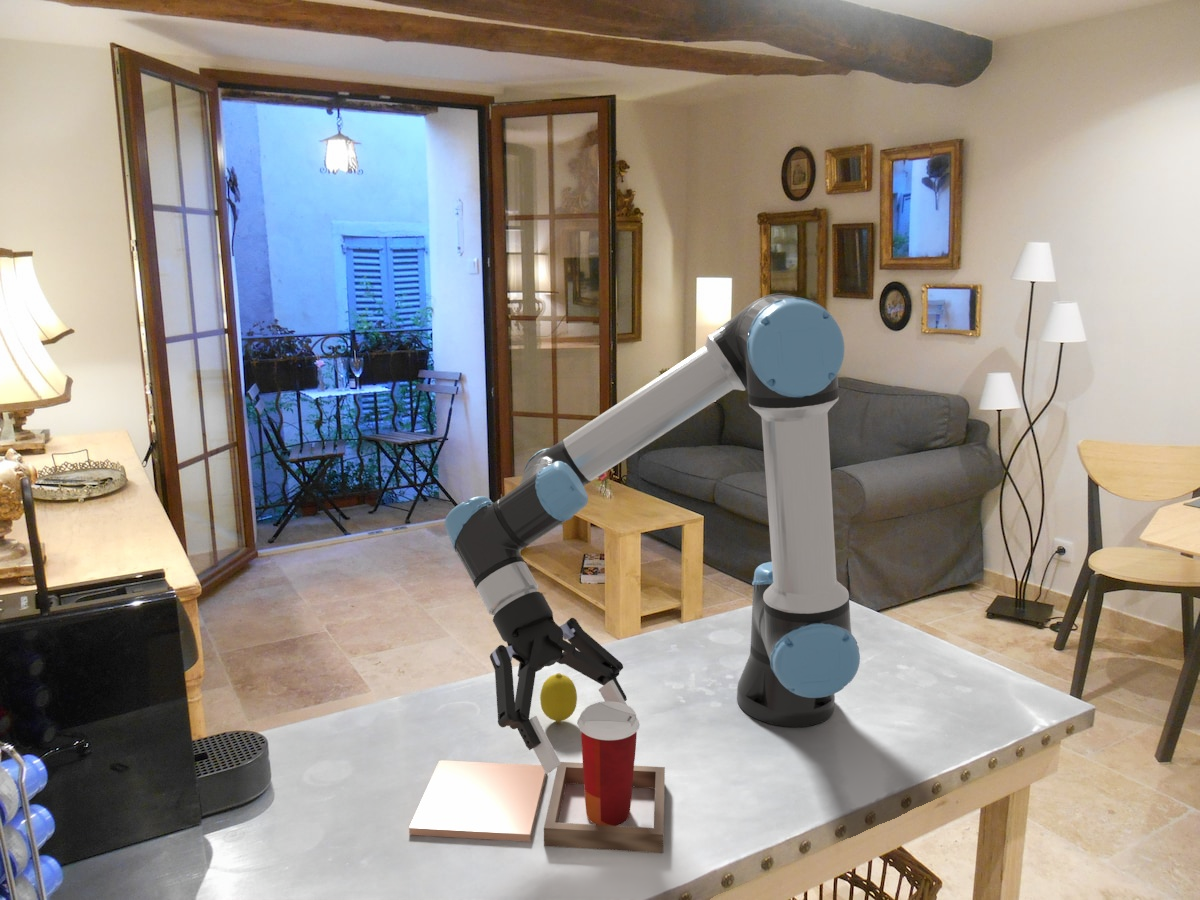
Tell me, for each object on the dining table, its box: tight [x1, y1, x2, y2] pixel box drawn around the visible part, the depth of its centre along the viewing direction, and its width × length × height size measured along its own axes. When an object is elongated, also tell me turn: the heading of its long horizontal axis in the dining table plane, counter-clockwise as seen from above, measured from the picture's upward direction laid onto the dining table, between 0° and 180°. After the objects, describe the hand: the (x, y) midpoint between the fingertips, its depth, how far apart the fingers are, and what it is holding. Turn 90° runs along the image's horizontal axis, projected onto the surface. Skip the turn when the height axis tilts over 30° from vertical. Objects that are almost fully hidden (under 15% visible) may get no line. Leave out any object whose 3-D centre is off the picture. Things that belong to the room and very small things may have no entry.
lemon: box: [539, 672, 578, 723], centre depth 139 cm, size 6×6×8 cm
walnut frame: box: [543, 761, 666, 854], centre depth 118 cm, size 14×14×2 cm
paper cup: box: [576, 700, 641, 826], centre depth 117 cm, size 8×8×14 cm
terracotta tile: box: [408, 759, 547, 842], centre depth 120 cm, size 15×15×1 cm
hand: (593, 748), depth 117 cm, fingers open, 13 cm apart
